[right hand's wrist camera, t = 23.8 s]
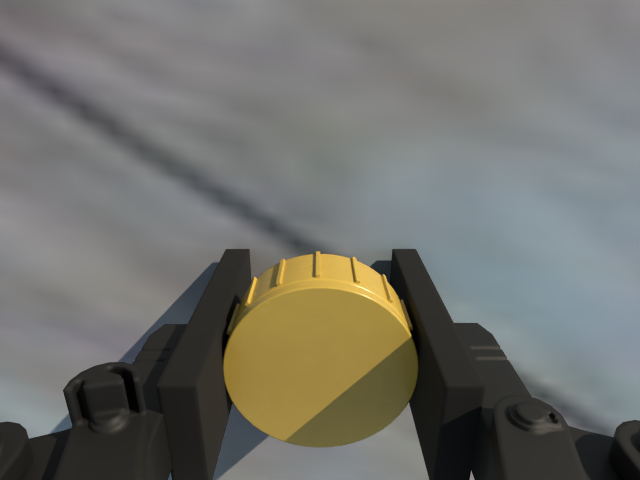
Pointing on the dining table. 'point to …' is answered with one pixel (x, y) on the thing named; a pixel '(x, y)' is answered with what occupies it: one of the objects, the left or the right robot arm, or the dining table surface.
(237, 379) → the lid
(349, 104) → the dining table surface
